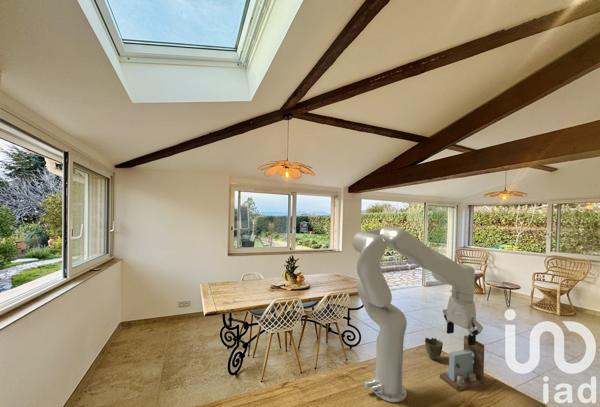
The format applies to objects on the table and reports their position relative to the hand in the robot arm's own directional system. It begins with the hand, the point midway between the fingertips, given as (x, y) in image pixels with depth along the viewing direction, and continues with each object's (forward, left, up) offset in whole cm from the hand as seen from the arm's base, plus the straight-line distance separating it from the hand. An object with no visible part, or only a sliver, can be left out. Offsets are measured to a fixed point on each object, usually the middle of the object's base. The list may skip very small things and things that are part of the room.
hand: (460, 338), depth 107 cm
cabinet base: (+1, 0, -17) cm, 17 cm away
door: (+1, 0, -16) cm, 15 cm away
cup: (+3, +16, -17) cm, 24 cm away
